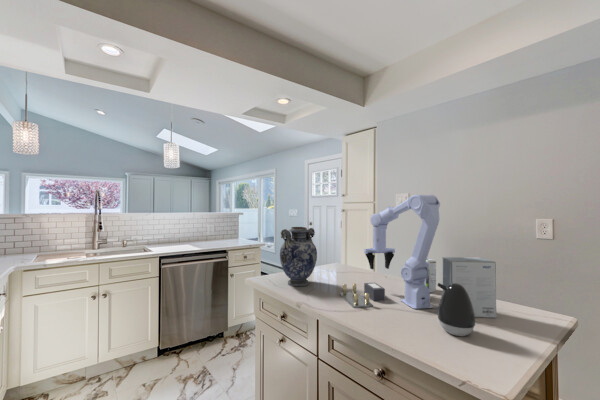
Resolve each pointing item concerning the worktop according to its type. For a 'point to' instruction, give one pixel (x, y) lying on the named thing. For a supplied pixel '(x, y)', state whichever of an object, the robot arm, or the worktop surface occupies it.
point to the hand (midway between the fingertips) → (379, 268)
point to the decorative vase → (298, 255)
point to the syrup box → (431, 275)
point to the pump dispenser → (456, 310)
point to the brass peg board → (355, 298)
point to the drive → (374, 291)
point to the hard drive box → (473, 281)
